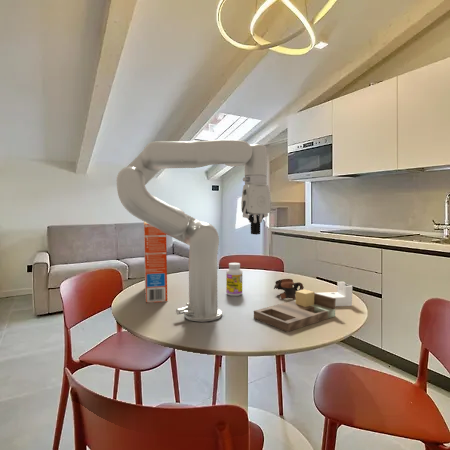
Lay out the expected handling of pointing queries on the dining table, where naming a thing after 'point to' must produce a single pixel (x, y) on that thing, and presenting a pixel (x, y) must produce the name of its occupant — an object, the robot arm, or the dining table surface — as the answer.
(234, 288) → the supplement bottle
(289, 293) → the pottery mug
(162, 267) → the orange cereal box
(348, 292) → the bracket
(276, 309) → the box
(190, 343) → the dining table surface
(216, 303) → the robot arm
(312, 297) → the block
